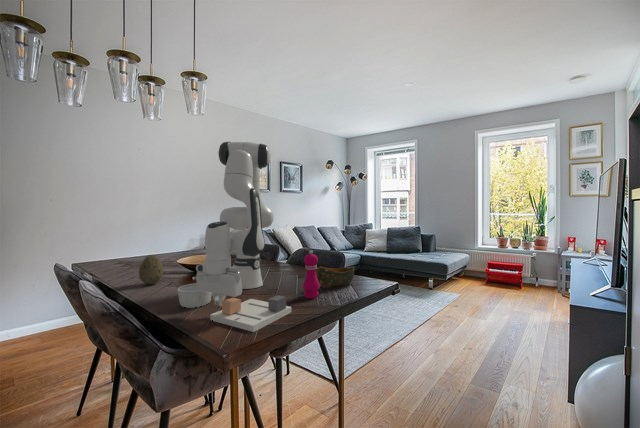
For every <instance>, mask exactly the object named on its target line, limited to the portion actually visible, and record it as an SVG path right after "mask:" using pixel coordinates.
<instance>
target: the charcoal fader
mask: <svg viewBox="0 0 640 428" xmlns="http://www.w3.org/2000/svg"><path fill="white" fill-rule="evenodd" d="M267 302H268V305H269V310H270V311H275V312H279V311H281V310H283V309H285V308H286V306H287V296H283V295H274V296H272V297H270V298H268V301H267Z"/></svg>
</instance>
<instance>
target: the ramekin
mask: <svg viewBox="0 0 640 428" xmlns="http://www.w3.org/2000/svg"><path fill="white" fill-rule="evenodd" d="M177 294H178V295H177V296H178V300H179V305H180V306H181V307H182V308H184V307H186V309H196V308H195V307H197V308H201V307H200V306H202V307H204V305H205V306H207V305H208V303H209V304H210V302H211V300H212V297H213V296H212V292H207V291H202V290H199V289H198V288H197V282H195V283H188V284H185V285H181V286H178V288H177ZM206 304H207V305H206Z"/></svg>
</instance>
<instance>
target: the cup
mask: <svg viewBox="0 0 640 428" xmlns="http://www.w3.org/2000/svg"><path fill="white" fill-rule="evenodd" d="M316 271H317V274H316V277H317V279H318V281H319V285H320V286H321V287H322V289H324V290H335V289H343V288H346V287H349V286H350V284H351V283H352V281H353V279H354V276H355V267H353V266H348V267H339V268H330V267H329V268H328V267H324V266H319V267H317V269H316Z"/></svg>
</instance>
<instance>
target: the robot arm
mask: <svg viewBox="0 0 640 428" xmlns="http://www.w3.org/2000/svg"><path fill="white" fill-rule="evenodd" d="M218 158H219V162H220V164H222V165H224V166H225V169H224V174H223V175H224V177H223V188H224V191H225V193H226V194H227V195H228V196H229V197H231V198H233V199H235V200H237V201H239V202H242V203H243V204H244V205H245V206H233V207H227V208H224V209H222V210H221V212H220V215H219V221H216V222H215V221H214V222H211V223H209V224H208V225H207V226H206V229H205V232H204V233H205V236H204V250H205V252H206V253H205V258H204V260H205V261H204V262H203V263H200V264H197V265H196V267H195V270H196V283H197V288H198V289H199V290H202V291H207V292H212V296H211V297H212V298H213V300H214V305H215V306H218V307H219V306H220V307H222V301H225V300H226V297H231V298H236V297H239V296H241V295H242V293H243V290H248V289H249V290H251V289H256V288H259V287H262V286H263V285H264V283H263V282H264V281H263V278H262V273H261V267H260V266H261V256H260V254H261V252H262V251H264V248H265V235H264V231H263V229H265V228H269V227H271V226H272V225H273V222H274V220H275V219H274V213H273V211H272V209H270V208H269V207H268V206H267V205H266V204H265V203H264V201H263V199H262V197H261V188H260V183H261V182H260V181H261V180H260V177H261V176H260V170H262V169H264V168H267V166H269V163H270V161H271V152H270V147H269V146H268V145H266V144H263V143H256V142H249V141H224V142H223V141H222V143H221V144H220V146H219V149H218ZM231 255H236V257H234V258H233V259H232V256H231ZM232 262H233V265H232Z"/></svg>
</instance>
